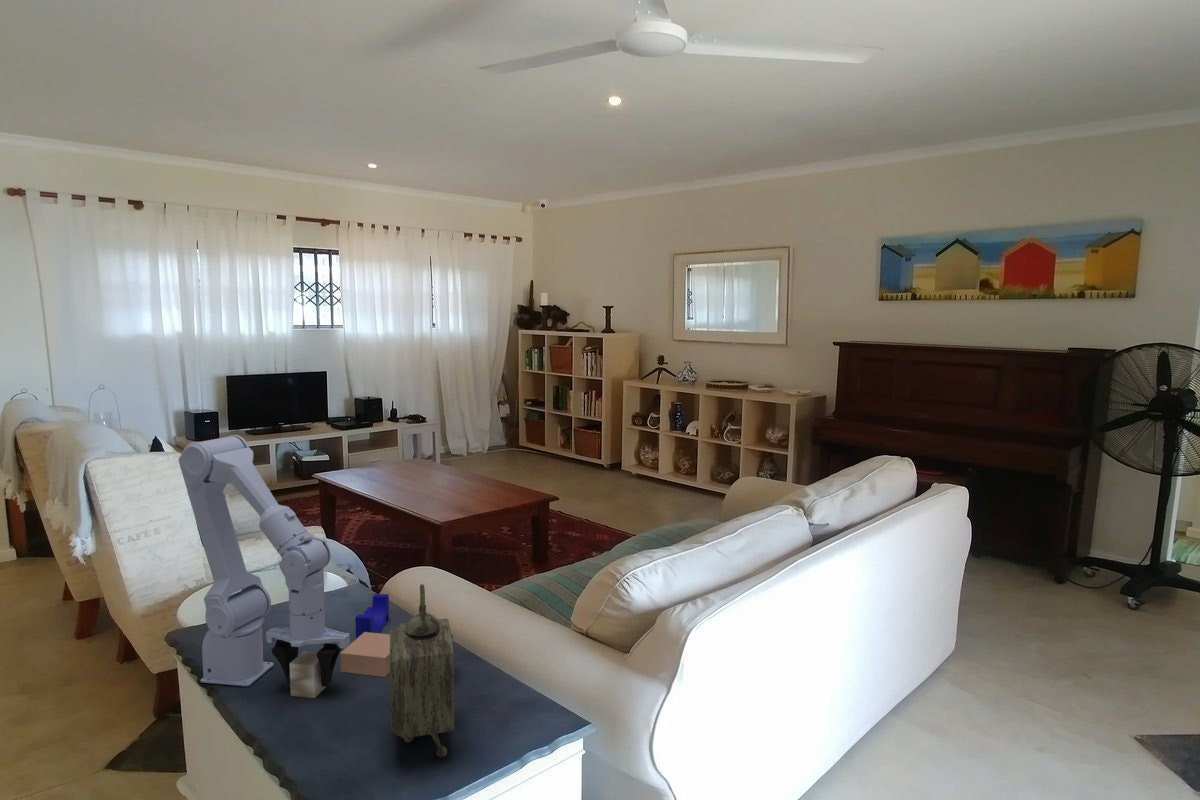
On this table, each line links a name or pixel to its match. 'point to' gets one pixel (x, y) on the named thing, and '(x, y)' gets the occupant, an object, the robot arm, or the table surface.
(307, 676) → the ivory block
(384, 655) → the terracotta block
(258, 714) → the table surface
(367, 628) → the blue stepped block
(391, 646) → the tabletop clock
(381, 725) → the table surface
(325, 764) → the table surface
